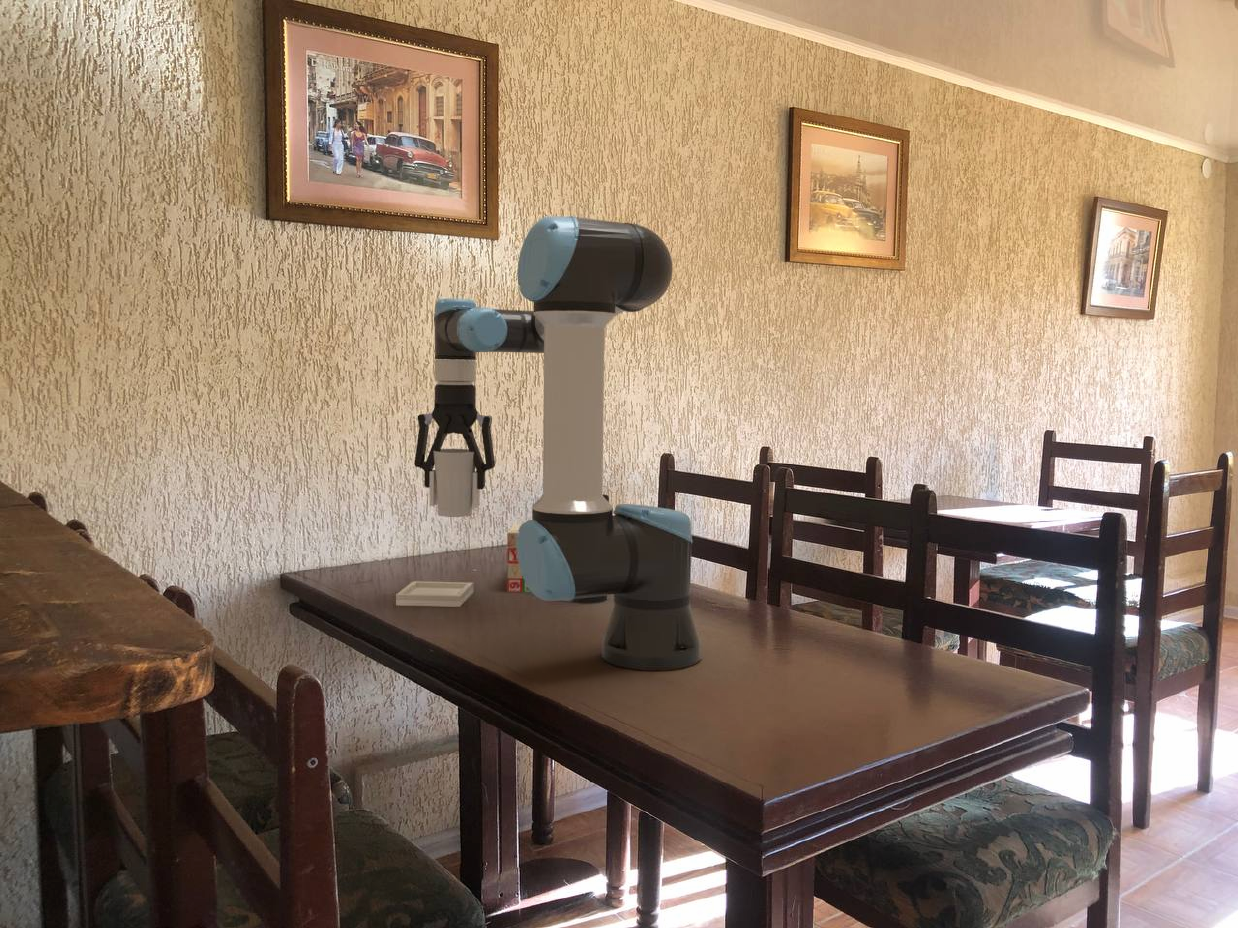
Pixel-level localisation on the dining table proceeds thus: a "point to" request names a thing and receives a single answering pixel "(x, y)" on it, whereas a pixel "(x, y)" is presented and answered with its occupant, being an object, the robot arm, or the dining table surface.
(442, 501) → the cup
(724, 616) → the dining table surface
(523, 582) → the stack of blocks
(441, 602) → the cream square tray
